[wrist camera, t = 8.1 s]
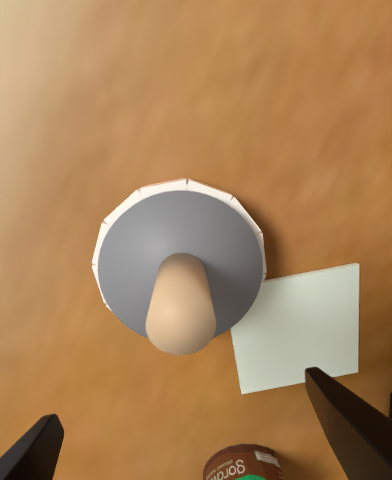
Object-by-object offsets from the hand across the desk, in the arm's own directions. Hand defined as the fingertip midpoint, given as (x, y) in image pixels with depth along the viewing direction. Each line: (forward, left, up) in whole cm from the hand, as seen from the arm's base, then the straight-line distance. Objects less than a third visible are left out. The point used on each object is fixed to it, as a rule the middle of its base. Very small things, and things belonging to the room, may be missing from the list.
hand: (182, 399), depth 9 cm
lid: (0, -1, -9) cm, 9 cm away
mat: (-9, +9, -13) cm, 18 cm away
